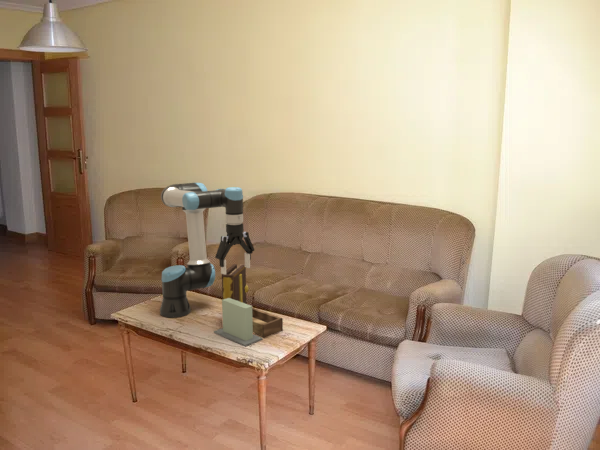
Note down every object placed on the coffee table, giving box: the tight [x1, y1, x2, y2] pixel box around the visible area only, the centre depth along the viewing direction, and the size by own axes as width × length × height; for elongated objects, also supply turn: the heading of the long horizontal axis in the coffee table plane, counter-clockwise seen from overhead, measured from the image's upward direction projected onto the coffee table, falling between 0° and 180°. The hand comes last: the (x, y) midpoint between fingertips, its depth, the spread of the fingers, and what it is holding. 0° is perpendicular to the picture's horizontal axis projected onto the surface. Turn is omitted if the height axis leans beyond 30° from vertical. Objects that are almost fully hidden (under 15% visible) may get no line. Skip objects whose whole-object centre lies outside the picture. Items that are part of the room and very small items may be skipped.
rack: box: [252, 307, 284, 339], centre depth 249 cm, size 20×12×6 cm, turn 47°
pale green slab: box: [221, 298, 254, 341], centre depth 239 cm, size 16×4×15 cm, turn 47°
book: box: [221, 263, 249, 304], centre depth 260 cm, size 22×8×25 cm, turn 168°
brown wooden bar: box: [252, 317, 267, 337], centre depth 246 cm, size 17×4×5 cm, turn 47°
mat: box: [213, 327, 263, 347], centre depth 240 cm, size 22×10×1 cm, turn 47°
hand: (235, 270), depth 234 cm, fingers open, 13 cm apart
